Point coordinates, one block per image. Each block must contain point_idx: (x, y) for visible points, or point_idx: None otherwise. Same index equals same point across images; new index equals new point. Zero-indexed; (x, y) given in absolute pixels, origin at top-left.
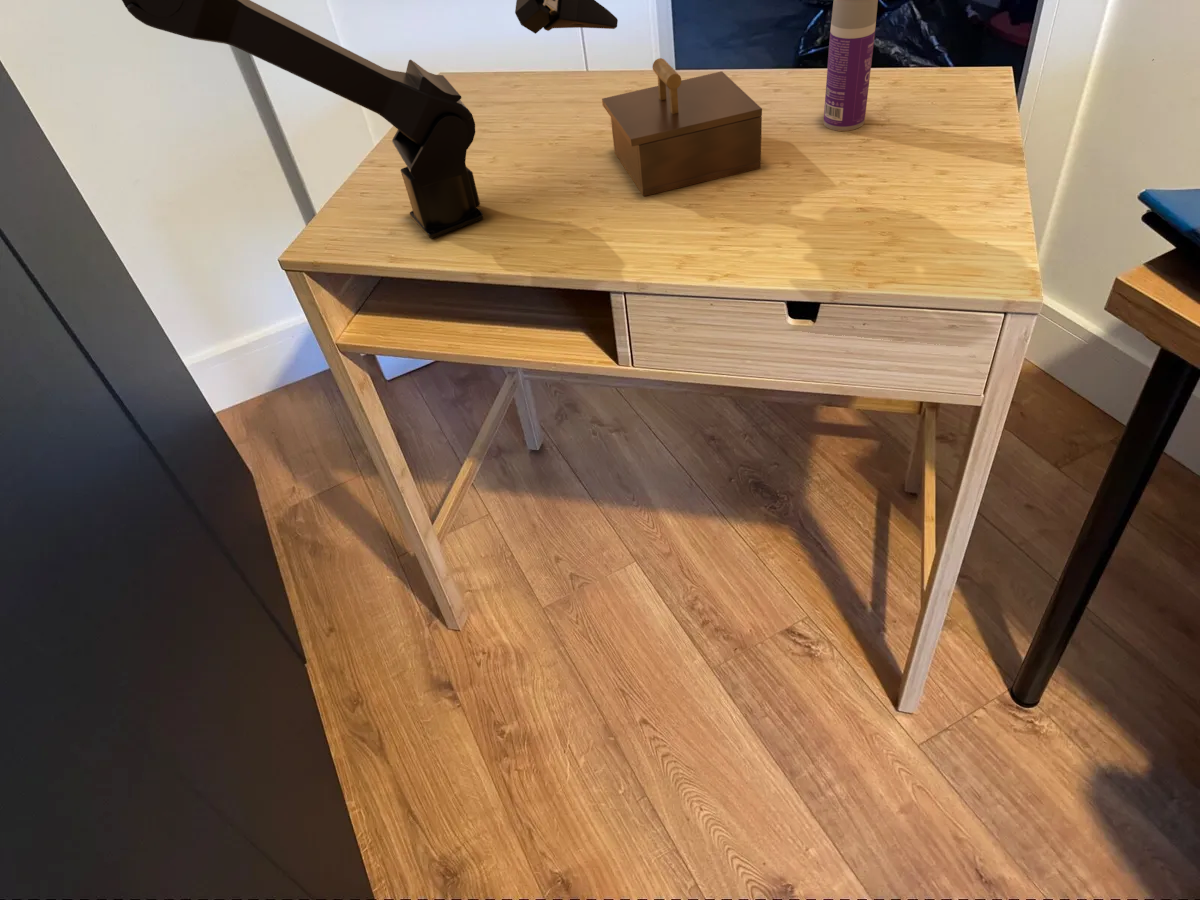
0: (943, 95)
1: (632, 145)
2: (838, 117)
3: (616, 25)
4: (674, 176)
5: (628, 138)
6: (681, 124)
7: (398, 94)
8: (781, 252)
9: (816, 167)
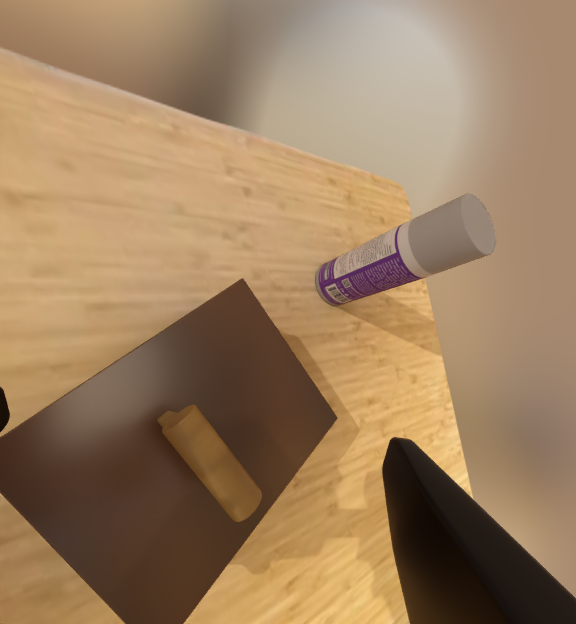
0: (384, 230)
1: None
2: (342, 301)
3: (6, 417)
4: None
5: None
6: (243, 526)
7: None
8: (353, 597)
9: (334, 393)
